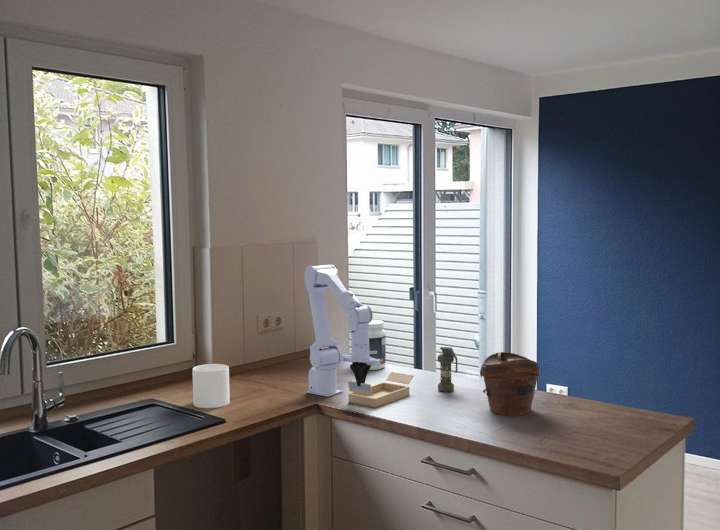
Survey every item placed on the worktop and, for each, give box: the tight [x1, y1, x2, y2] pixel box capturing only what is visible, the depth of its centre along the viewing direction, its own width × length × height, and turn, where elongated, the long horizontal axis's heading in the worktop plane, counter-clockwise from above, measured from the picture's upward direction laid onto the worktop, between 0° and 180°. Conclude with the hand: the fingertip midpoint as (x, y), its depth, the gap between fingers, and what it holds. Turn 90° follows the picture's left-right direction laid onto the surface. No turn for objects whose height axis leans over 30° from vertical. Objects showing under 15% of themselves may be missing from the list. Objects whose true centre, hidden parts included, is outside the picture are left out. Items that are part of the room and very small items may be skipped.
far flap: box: [385, 371, 415, 385], centre depth 249 cm, size 9×4×1 cm
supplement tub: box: [369, 319, 387, 371], centre depth 287 cm, size 13×13×18 cm
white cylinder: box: [191, 363, 231, 409], centre depth 237 cm, size 12×12×12 cm
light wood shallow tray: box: [348, 381, 410, 409], centre depth 240 cm, size 11×19×3 cm, turn 142°
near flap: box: [346, 379, 373, 396], centre depth 232 cm, size 9×4×1 cm
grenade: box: [437, 346, 458, 393], centre depth 249 cm, size 6×6×15 cm
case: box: [479, 351, 542, 417], centre depth 225 cm, size 18×20×18 cm
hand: (360, 385), depth 232 cm, fingers closed, pressing on near flap
